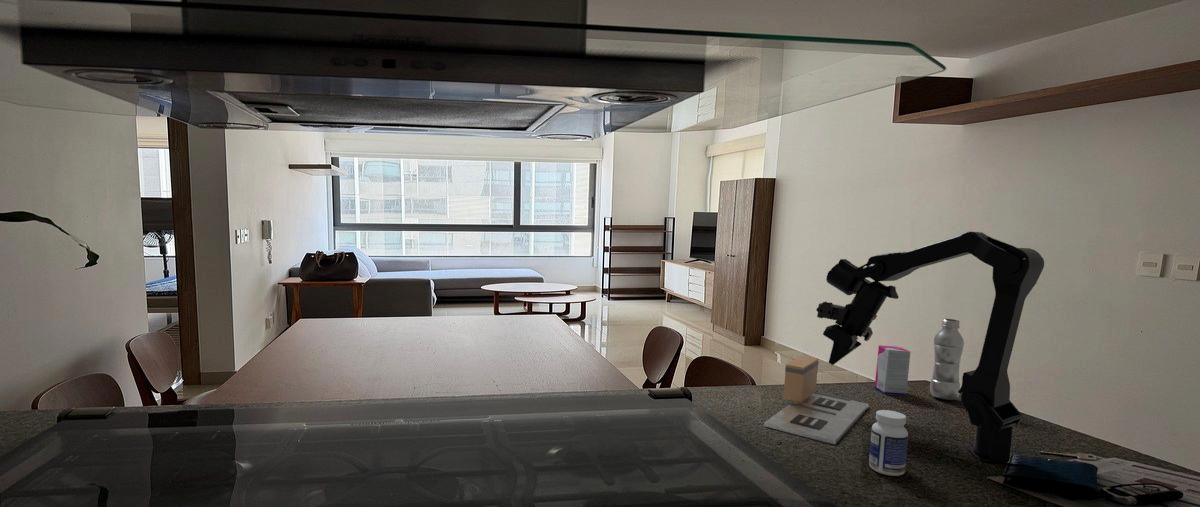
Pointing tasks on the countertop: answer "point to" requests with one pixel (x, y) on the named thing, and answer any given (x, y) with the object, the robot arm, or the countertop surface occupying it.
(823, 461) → the countertop surface
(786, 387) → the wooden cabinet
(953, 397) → the plastic bottle
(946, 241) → the robot arm
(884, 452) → the pill bottle
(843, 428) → the label panel
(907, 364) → the supplement box
